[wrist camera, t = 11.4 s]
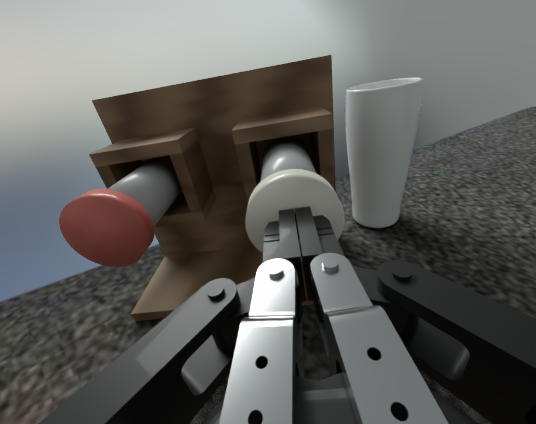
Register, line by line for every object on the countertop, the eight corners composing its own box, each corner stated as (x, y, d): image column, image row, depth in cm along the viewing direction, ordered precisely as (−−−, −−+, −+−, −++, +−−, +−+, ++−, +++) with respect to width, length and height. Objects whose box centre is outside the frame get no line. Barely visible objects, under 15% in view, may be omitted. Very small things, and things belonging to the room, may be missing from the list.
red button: (200, 193, 24) (184, 144, 21) (158, 262, 15) (123, 192, 13) (154, 199, 24) (133, 152, 22) (87, 270, 16) (41, 204, 13)
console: (333, 232, 29) (326, 56, 20) (358, 300, 20) (365, 43, 12) (174, 251, 31) (106, 98, 22) (135, 321, 22) (-1, 114, 14)
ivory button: (316, 182, 22) (312, 126, 19) (345, 256, 13) (344, 170, 11) (262, 190, 22) (252, 136, 20) (255, 266, 13) (235, 186, 11)
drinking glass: (419, 219, 29) (443, 75, 21) (375, 241, 27) (385, 89, 19) (374, 200, 34) (380, 79, 27) (335, 216, 32) (330, 91, 25)
